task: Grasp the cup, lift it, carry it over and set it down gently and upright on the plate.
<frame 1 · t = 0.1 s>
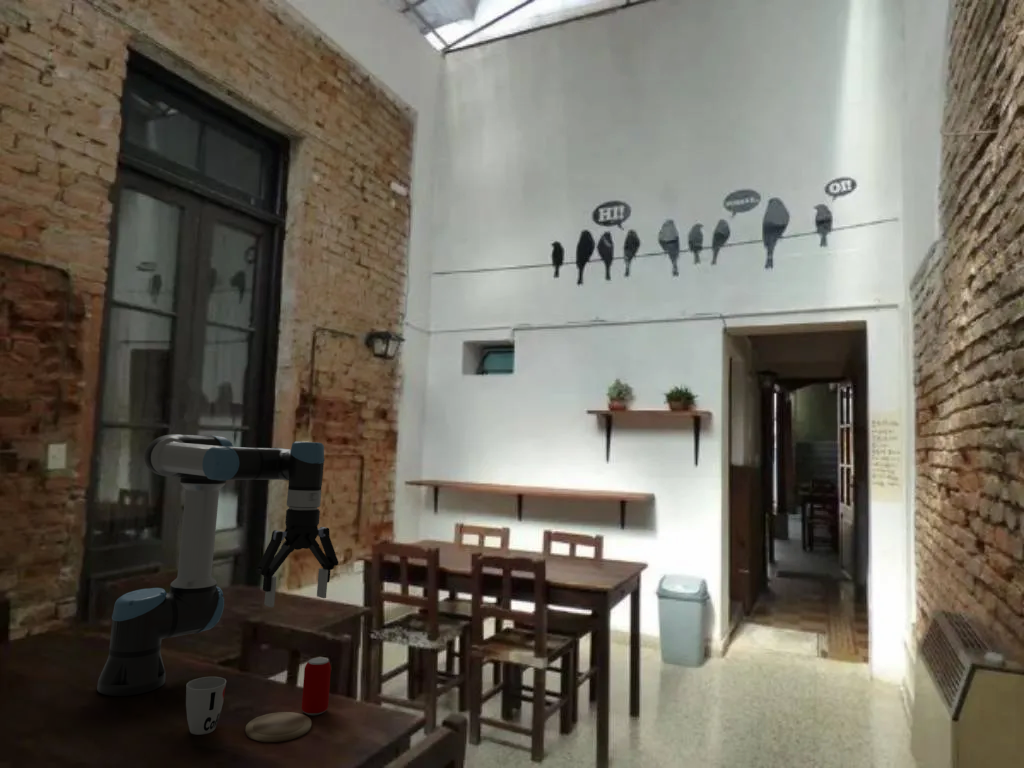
hand: (296, 601, 151), 28 cm above the table, fingers open, 13 cm apart
plate: (278, 728, 148), on the table
cup: (202, 730, 146), on the table
beverage can: (314, 713, 158), on the table
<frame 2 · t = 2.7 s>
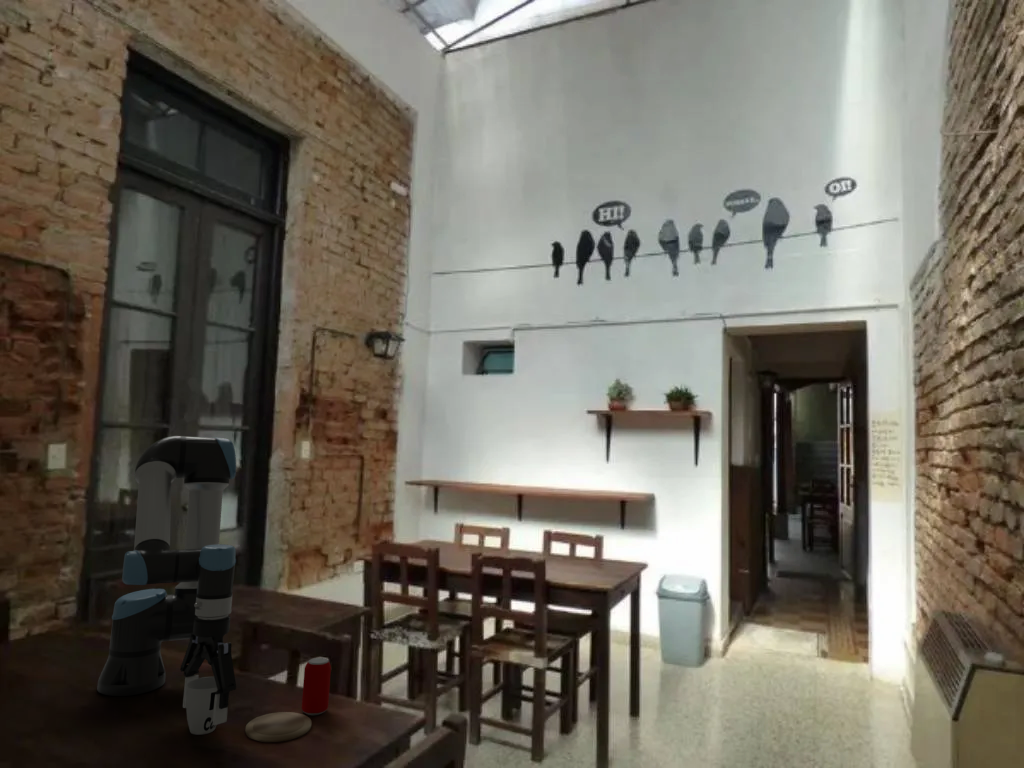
hand: (204, 714, 146), 3 cm above the table, fingers open, 13 cm apart
nothing on the table moved.
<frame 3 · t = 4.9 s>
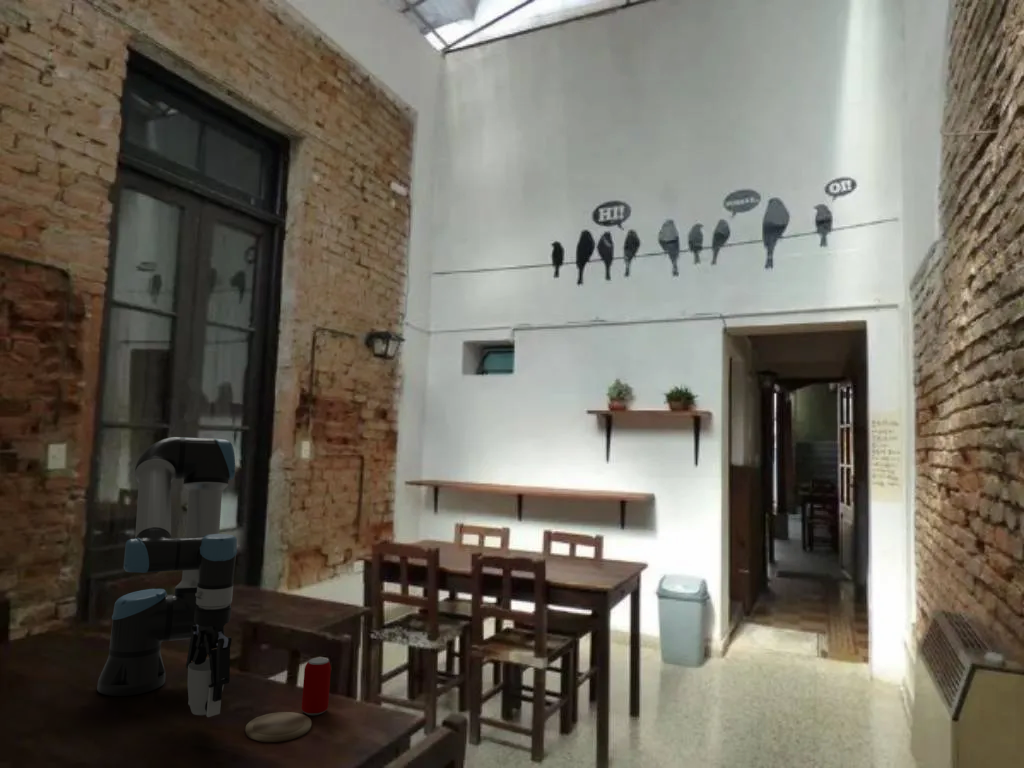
hand: (203, 708, 147), 4 cm above the table, fingers closed on cup, 8 cm apart
cup: (203, 711, 147), point 4 cm above the table, touching gripper
everything else where it was.
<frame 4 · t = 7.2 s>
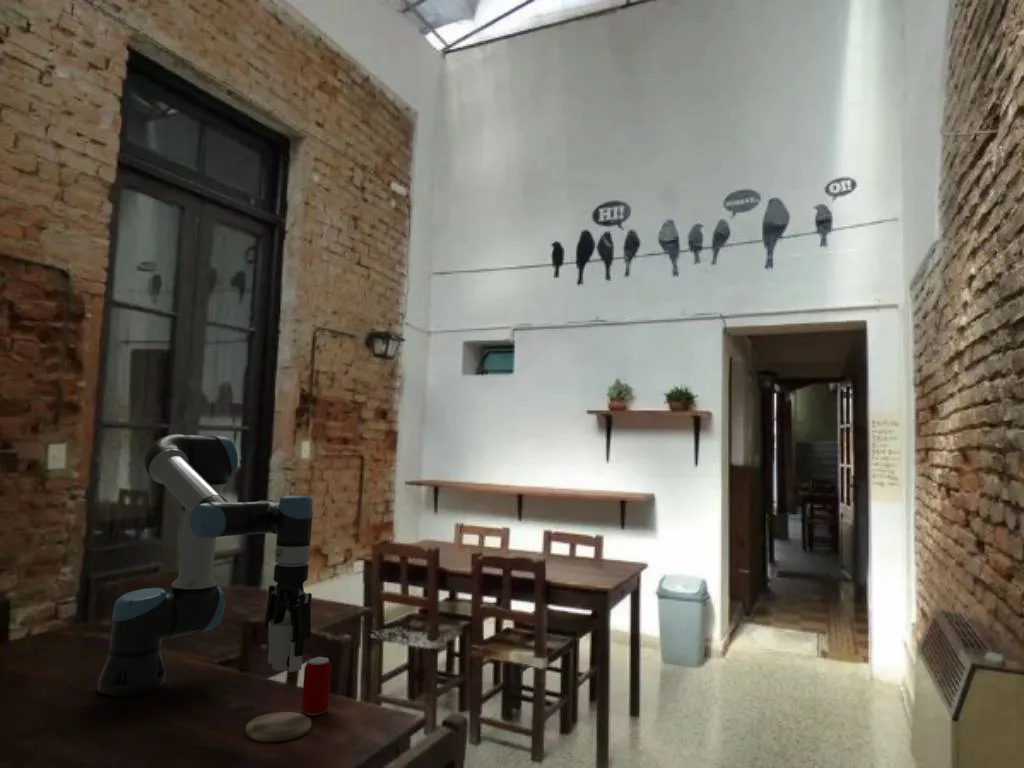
hand: (284, 666, 149), 14 cm above the table, fingers closed on cup, 8 cm apart
cup: (284, 668, 149), point 13 cm above the table, touching gripper
everything else where it was.
when the fingers open (1 cm above the table, at t = 9.6 s): cup stays where it is, resting on plate.
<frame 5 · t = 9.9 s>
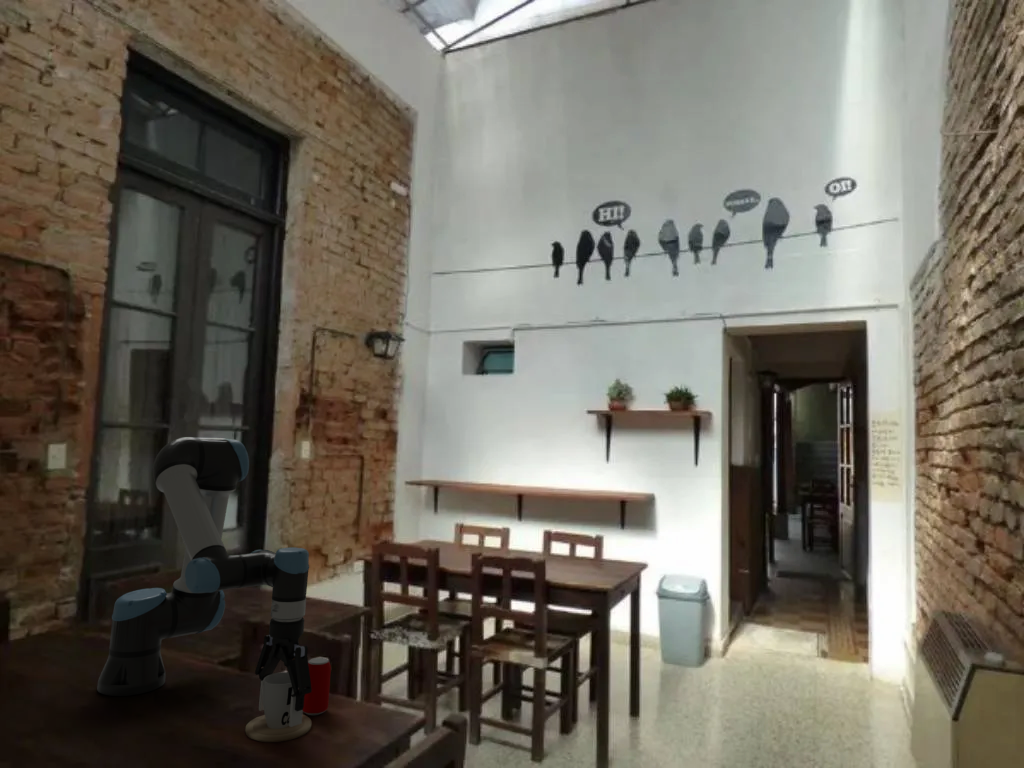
hand: (279, 716, 148), 2 cm above the table, fingers open, 11 cm apart
cup: (278, 725, 148), point 1 cm above the table, touching plate
everything else where it was.
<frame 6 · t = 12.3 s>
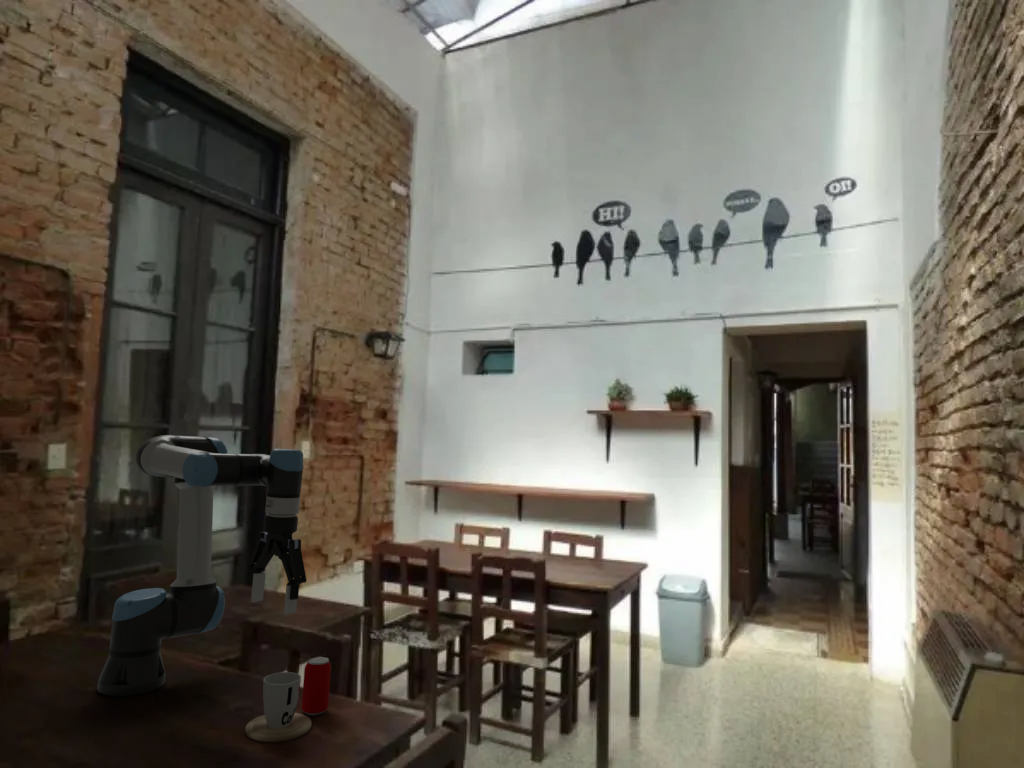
hand: (272, 607, 153), 26 cm above the table, fingers open, 13 cm apart
nothing on the table moved.
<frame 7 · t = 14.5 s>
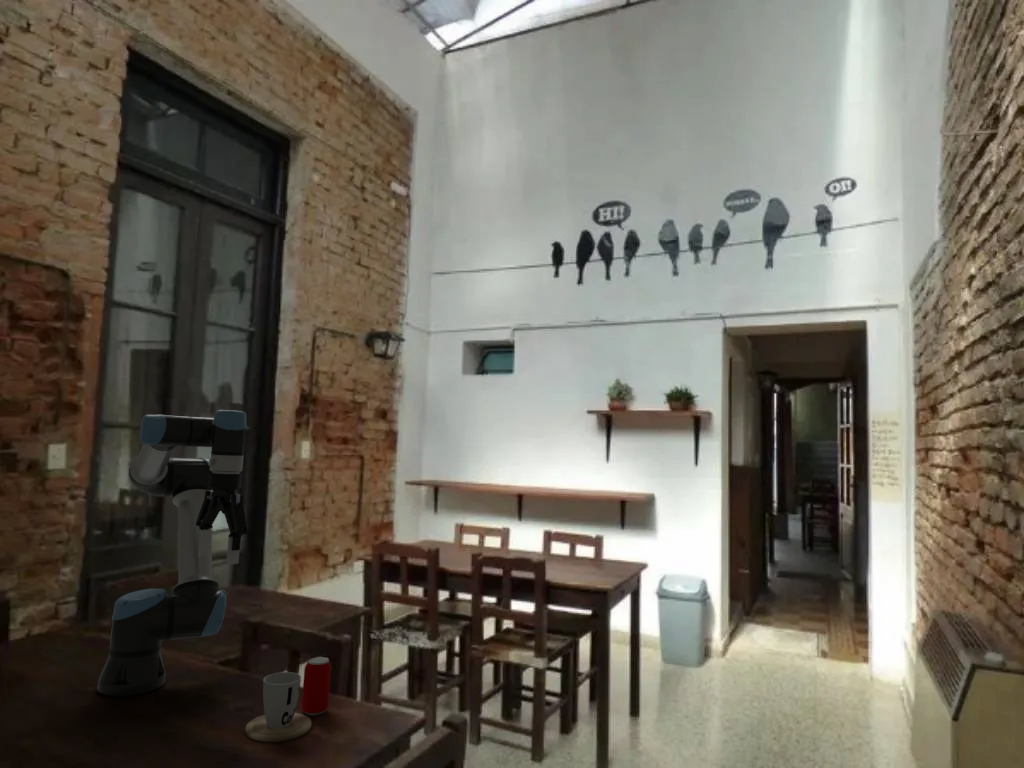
hand: (217, 560, 160), 35 cm above the table, fingers open, 13 cm apart
nothing on the table moved.
at the end: cup 0.1 cm from the plate (horizontally); cup tilted 0°; cup touching plate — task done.
